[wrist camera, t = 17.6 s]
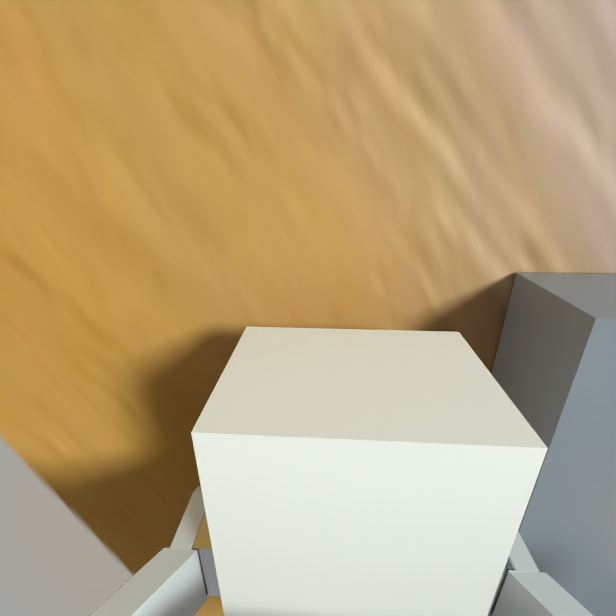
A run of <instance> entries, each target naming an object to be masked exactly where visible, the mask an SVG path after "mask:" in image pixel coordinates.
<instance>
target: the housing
mask: <svg viewBox="0 0 616 616" xmlns="http://www.w3.org/2000/svg"><path fill="white" fill-rule="evenodd" d="M491 375H492V376H493V377H494V378H495V380H496V381H497V382H498V384H499V385H500V386H501V388H502V389H503V390H504V392H505V393H506V394H507V395H508V397H509V398H510V399H511V401H512V402H513V403H514V405H515V406H516V407H517V409H518V410H519V411H520V412H521V414H522V415H523V416H524V418H525V419H526V420H527V422H528V423H529V424H530V426H531V427H532V428H533V429H534V431H535V432H536V433H537V435H538V436H539V437H540V439H541V440H542V441H543V443H544V444H545V445H546V446H547V448H548V449H547V452H546V455H545V458H544V460H543V463H542V466H541V469H540V471H539V474H538V477H537V480H536V482H535V485H534V488H533V491H532V493H531V496H530V499H529V502H528V505H527V507H526V510H525V513H524V516H523V518H522V521H521V524H520V527H519V529H518V531H519V533H520V535H521V537H522V539H523V541H524V543H525V545H526V547H527V549H528V551H529V553H530V555H531V556H532V558H533V560H534V562H535V564H536V566H537V568H538V570H539V572H545V573H547V574H548V575H549V576H550V577H551V578H553V579H554V580H555V581H556V582H557V583H558V584H559V585H560V586H561V587H563V588H564V589H565V590H566V591H567V592H568V593H569V594H570V595H571V596H572V597H574V598H575V599H576V600H577V601H578V602H579V603H580V604H581V605H582V606H583V607H585V608H586V609H587V610H588V611H589V612H590V613H591V614H592V615H593V616H616V274H599V273H528V272H516V275H515V279H514V283H513V287H512V291H511V295H510V299H509V303H508V308H507V312H506V316H505V320H504V324H503V328H502V332H501V336H500V340H499V344H498V348H497V352H496V356H495V360H494V365H493V369H492V373H491Z"/></svg>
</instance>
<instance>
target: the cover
mask: <svg viewBox="0 0 616 616" xmlns="http://www.w3.org/2000/svg"><path fill="white" fill-rule="evenodd" d="M191 435H192V440H193V446H194V451H195V457H196V462H197V468H198V473H199V479H200V484H201V490H202V495H203V501H204V507H205V512H206V518H207V523H208V529H209V534H210V540H211V545H212V551H213V556H214V562H215V567H216V573H217V578H218V584H219V589H220V595H221V600H222V606H223V612H224V616H487V615H488V612H489V610H490V607H491V604H492V601H493V598H494V596H495V593H496V590H497V587H498V585H499V582H500V579H501V576H502V574H503V571H504V568H505V565H506V563H507V560H508V557H509V554H510V551H511V549H512V546H513V543H514V540H515V538H516V535H517V532H518V529H519V527H520V524H521V521H522V518H523V516H524V513H525V510H526V507H527V505H528V502H529V499H530V496H531V493H532V491H533V488H534V485H535V482H536V480H537V477H538V474H539V471H540V469H541V466H542V463H543V460H544V458H545V455H546V452H547V449H548V448H547V446H546V445H545V444H544V443H543V441H542V440H541V439H540V437H539V436H538V435H537V433H536V432H535V431H534V429H533V428H532V427H531V426H530V424H529V423H528V422H527V420H526V419H525V418H524V416H523V415H522V414H521V412H520V411H519V410H518V409H517V407H516V406H515V405H514V403H513V402H512V401H511V399H510V398H509V397H508V395H507V394H506V393H505V392H504V390H503V389H502V388H501V386H500V385H499V384H498V382H497V381H496V380H495V378H494V377H493V376H492V375H491V373H490V372H489V371H488V369H487V368H486V367H485V365H484V364H483V363H482V361H481V360H480V359H479V358H478V356H477V355H476V354H475V352H474V351H473V350H472V348H471V347H470V346H469V344H468V343H467V342H466V341H465V339H464V338H463V337H462V335H461V334H460V333H459V332H445V331H404V330H363V329H322V328H281V327H246V329H245V331H244V333H243V335H242V336H241V338H240V340H239V342H238V344H237V346H236V348H235V350H234V352H233V354H232V355H231V357H230V359H229V361H228V363H227V365H226V367H225V369H224V371H223V373H222V375H221V376H220V378H219V380H218V382H217V384H216V386H215V388H214V390H213V392H212V394H211V395H210V397H209V399H208V401H207V403H206V405H205V407H204V409H203V411H202V413H201V415H200V416H199V418H198V420H197V422H196V424H195V426H194V428H193V430H192V432H191Z"/></svg>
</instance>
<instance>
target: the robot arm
mask: <svg viewBox="0 0 616 616" xmlns="http://www.w3.org/2000/svg"><path fill="white" fill-rule="evenodd" d="M207 596H220V597H221V595H220V589H219V584H218V578H217V573H216V567H215V562H214V556H213V551H212V545H211V540H210V534H209V529H208V523H207V518H206V512H205V507H204V501H203V495H202V490H201V486H197V488H196V489H195V490H194V492H193V494H192V496H191V498H190V501H189V503H188V505H187V508H186V510H185V512H184V515H183V517H182V519H181V522H180V524H179V527H178V529H177V531H176V534H175V536H174V538H173V541H172V543H171V545H170V548H163V549H162V550H161V551H159V552H158V553H157V554H156V555H155V556H154V557H153V558H152V559H151V560H150V561H149V562H148V563H146V564H145V565H144V566H143V567H142V568H141V569H140V570H139V571H138V572H137V573H136V574H134V575H133V576H132V577H131V578H130V579H129V580H128V581H127V582H126V583H125V584H124V585H122V586H121V587H120V588H119V589H118V590H117V591H116V592H115V593H114V594H113V595H112V596H111V597H109V598H108V599H107V600H106V601H105V602H104V603H103V604H102V605H101V606H100V607H99V608H97V609H96V610H95V611H94V612H93V613H92V614H91V615H90V616H194V615H195V614H196V613H197V611H198V610H199V609H200V607H201V606H202V605H203V603H204V602H205V601H206V599H207ZM487 616H593V615H592V614H591V613H590V612H589V611H588V610H587V609H586V608H585V607H583V606H582V605H581V604H580V603H579V602H578V601H577V600H576V599H575V598H574V597H572V596H571V595H570V594H569V593H568V592H567V591H566V590H565V589H564V588H563V587H561V586H560V585H559V584H558V583H557V582H556V581H555V580H554V579H553V578H551V577H550V576H549V575H548V574H547V573H545V572H539V570H538V568H537V566H536V564H535V562H534V560H533V558H532V556H531V555H530V553H529V551H528V549H527V547H526V545H525V543H524V541H523V539H522V537H521V535H520V533H519V531H518V532H517V535H516V538H515V540H514V543H513V546H512V549H511V551H510V554H509V557H508V560H507V563H506V565H505V568H504V571H503V574H502V576H501V579H500V582H499V585H498V587H497V590H496V593H495V596H494V598H493V601H492V604H491V607H490V610H489V612H488V615H487Z"/></svg>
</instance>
